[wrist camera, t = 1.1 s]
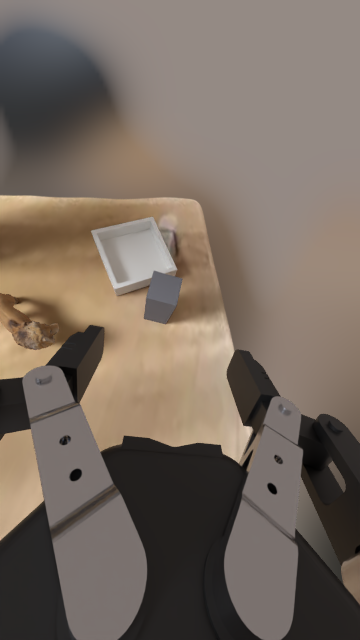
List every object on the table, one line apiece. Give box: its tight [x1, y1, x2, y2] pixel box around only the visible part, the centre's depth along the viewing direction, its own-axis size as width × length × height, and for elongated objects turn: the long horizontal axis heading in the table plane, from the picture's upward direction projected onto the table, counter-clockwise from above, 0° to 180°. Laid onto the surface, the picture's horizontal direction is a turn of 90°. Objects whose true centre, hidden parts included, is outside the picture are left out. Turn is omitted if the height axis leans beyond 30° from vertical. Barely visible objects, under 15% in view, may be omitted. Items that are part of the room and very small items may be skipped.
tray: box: [91, 217, 177, 296], centre depth 40 cm, size 13×13×4 cm
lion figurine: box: [0, 293, 59, 350], centre depth 31 cm, size 15×5×9 cm, turn 58°
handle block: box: [144, 271, 182, 324], centre depth 35 cm, size 4×4×12 cm
